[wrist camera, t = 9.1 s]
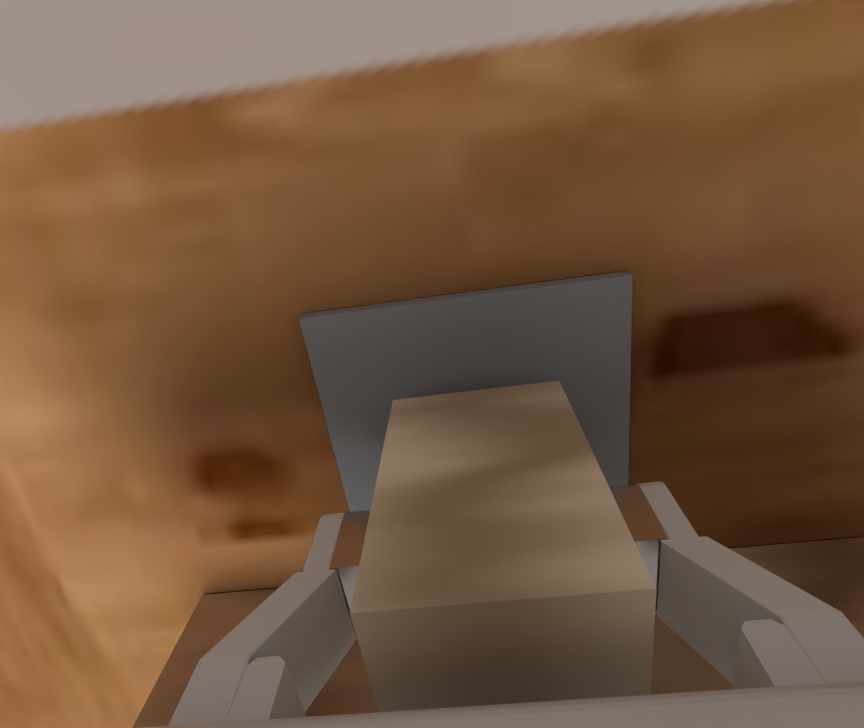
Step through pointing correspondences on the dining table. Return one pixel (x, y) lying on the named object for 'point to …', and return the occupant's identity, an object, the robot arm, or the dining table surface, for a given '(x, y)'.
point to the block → (498, 559)
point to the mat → (474, 362)
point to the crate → (672, 657)
